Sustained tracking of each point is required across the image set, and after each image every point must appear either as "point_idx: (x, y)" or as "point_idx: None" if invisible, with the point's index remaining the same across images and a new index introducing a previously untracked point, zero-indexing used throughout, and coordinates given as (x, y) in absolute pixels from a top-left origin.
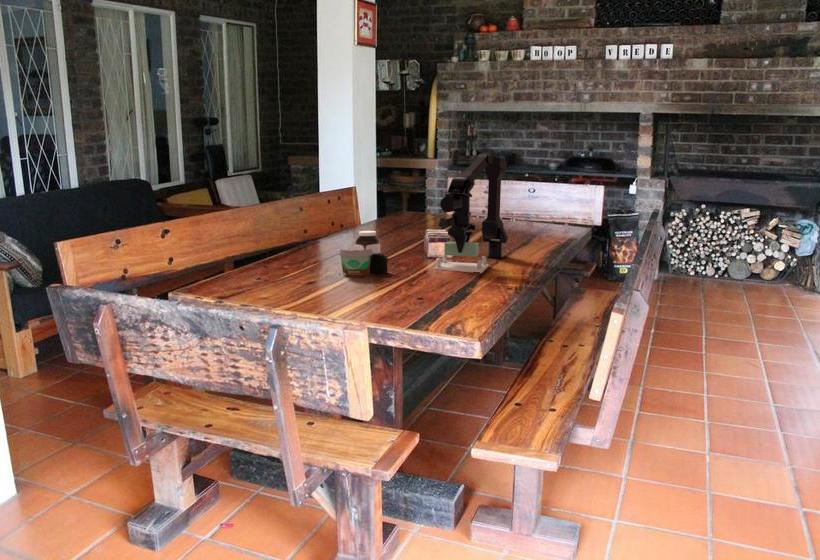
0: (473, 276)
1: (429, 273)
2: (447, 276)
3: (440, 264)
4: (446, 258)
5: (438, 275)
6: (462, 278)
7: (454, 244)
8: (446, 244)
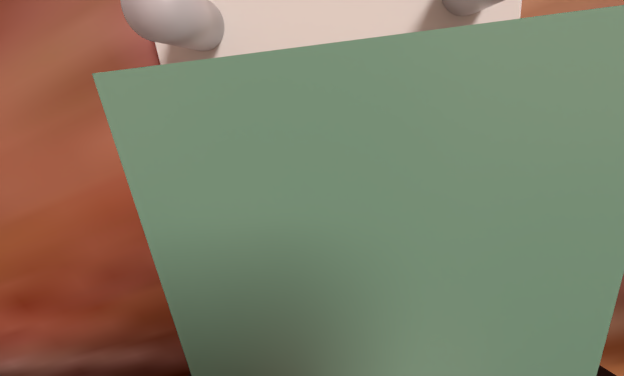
0: (132, 350)
1: (30, 14)
2: (23, 211)
3: (195, 49)
4: (490, 5)
5: (9, 133)
6: (33, 315)
7: (200, 366)
8: (142, 147)
